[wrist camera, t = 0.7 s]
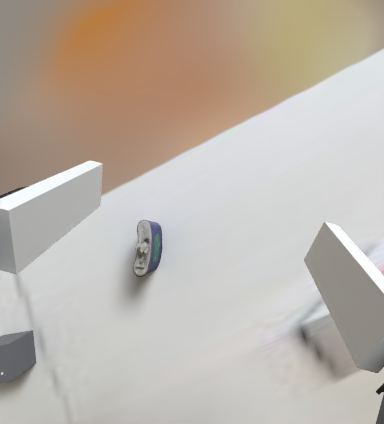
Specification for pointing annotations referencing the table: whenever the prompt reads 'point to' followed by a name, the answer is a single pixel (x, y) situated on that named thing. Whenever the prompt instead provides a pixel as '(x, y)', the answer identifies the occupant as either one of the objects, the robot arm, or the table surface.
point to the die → (16, 355)
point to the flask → (148, 247)
